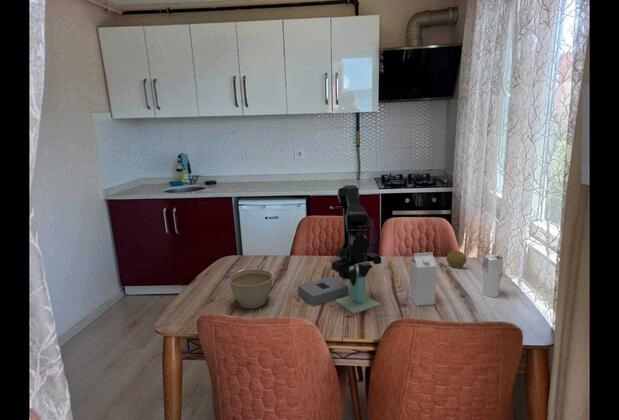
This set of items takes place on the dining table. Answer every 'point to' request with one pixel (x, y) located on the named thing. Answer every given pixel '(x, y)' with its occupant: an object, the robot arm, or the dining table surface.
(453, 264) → the olive green melon
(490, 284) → the silver can
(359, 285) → the plug
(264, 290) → the planter bowl
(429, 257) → the milk carton
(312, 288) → the socket block
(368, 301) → the mat
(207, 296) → the dining table surface
